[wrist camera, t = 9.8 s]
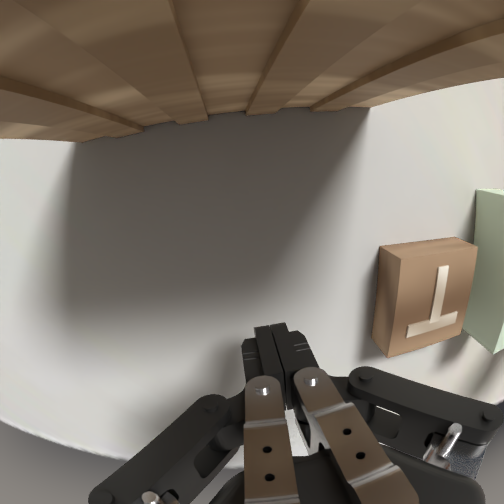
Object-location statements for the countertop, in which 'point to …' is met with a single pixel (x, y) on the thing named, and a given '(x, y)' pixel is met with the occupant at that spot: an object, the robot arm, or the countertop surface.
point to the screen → (228, 59)
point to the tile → (422, 293)
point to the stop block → (488, 273)
